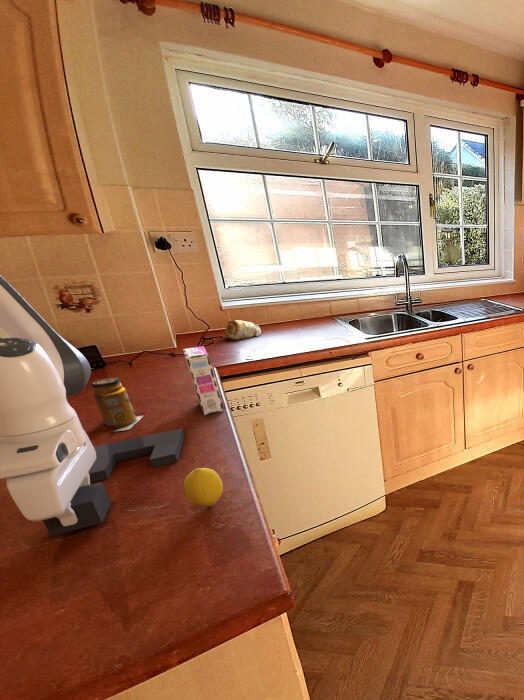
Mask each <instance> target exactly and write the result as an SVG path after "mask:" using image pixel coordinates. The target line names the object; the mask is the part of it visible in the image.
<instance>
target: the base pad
mask: <svg viewBox="0 0 524 700" xmlns="http://www.w3.org/2000/svg"><path fill="white" fill-rule="evenodd" d="M184 438H185V433H184V429H183V427H182V428H181V427H180V428H176V429H172V430H167V431H162V432H156V433H153V434H148V435H143V436H139V437H133V438H128V439H124V440H119V441H114V442H110V443H104V444H100V445H95V446H93V447H94V449H95V451H96V460H95V462H94V463H93V465H92V467H91V468H90V470H89V472H88V473H89V476H90V483H95V482H98V481H103V480H106V479H109V478H110V475H111V474H112V471H113V469H114V467H115V466H116V464H117V463H118V462H122V461H127V460H131V459H135V458H139V457H144V456H148V455H150V457H149V462H150V465H151V467H152V468H157V467H161V466H166V465H169V464H174V463H177V462H178V461H179V459H180V454H181V450H182V446H183V443H184Z"/></svg>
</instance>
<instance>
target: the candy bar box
mask: <svg viewBox="0 0 524 700" xmlns="http://www.w3.org/2000/svg"><path fill="white" fill-rule="evenodd" d="M182 351H183V354H184V359H185V362H186V365H187V368H188V371H189V374H190V378H191V381H192V384H193V387H194V390H195V394H196V396H197V400H198V402H199V403H198V404H199V405H200V408H201V412H202V413H203V416H209V415H213V414H217V413H221V412H224V411H225V408H224V404H223V401H222V397H221V393H220V391H219V387H218V382H217V380H216V376H215V373H214V370H213V365H212V363H211V360H210V356H209V353H208V352H207V350H206V347H204V346H203V345H202V346H194V347H189V348H188V347H187V348H183V349H182Z"/></svg>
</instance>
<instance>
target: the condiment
mask: <svg viewBox="0 0 524 700" xmlns="http://www.w3.org/2000/svg"><path fill="white" fill-rule="evenodd" d="M91 387H92V391H93V398H94V400H95V402H96V405H97V407H98V410H99V413H100V415H101V417H102V420H103V422H104V425H106V426H107V427H114V428H112V430H111V433H117V432H121V431H128V430H131V429H132V428H133V427H134V426H135V425H136V424H137V423H138V422H139V421H140V420H141V419H142V418H144V415H136V413H135V411H134V408H133V406H132V403H131V401H130V398H129V395H128V392H127V390H126V388H125V387H124V386H123V384H122V383H121V380H120V378H119V377H107V378H106V377H105V378H102V379H98V380H95V381H93V382H92V383H91Z"/></svg>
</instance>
